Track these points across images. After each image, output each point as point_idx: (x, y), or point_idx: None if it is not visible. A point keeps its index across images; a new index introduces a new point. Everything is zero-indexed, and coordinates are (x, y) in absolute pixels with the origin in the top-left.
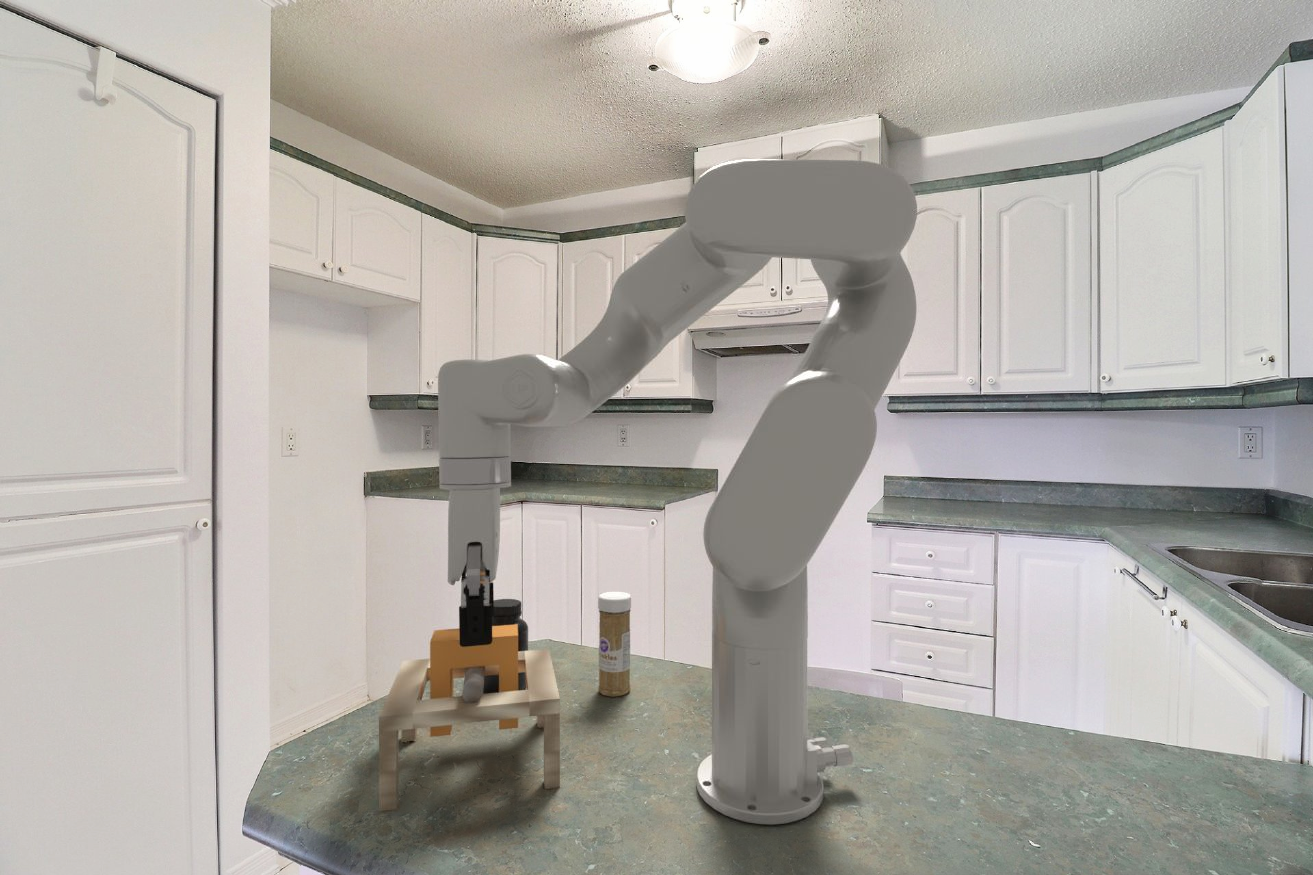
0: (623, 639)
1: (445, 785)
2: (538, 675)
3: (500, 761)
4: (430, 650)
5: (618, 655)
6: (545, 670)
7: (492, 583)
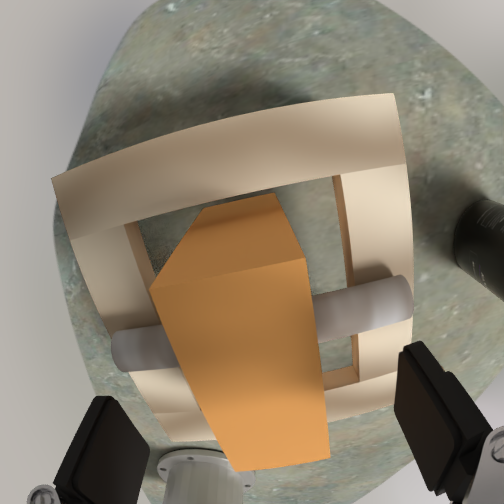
0: None
1: (186, 227)
2: None
3: None
4: (157, 276)
5: None
6: None
7: (436, 495)
